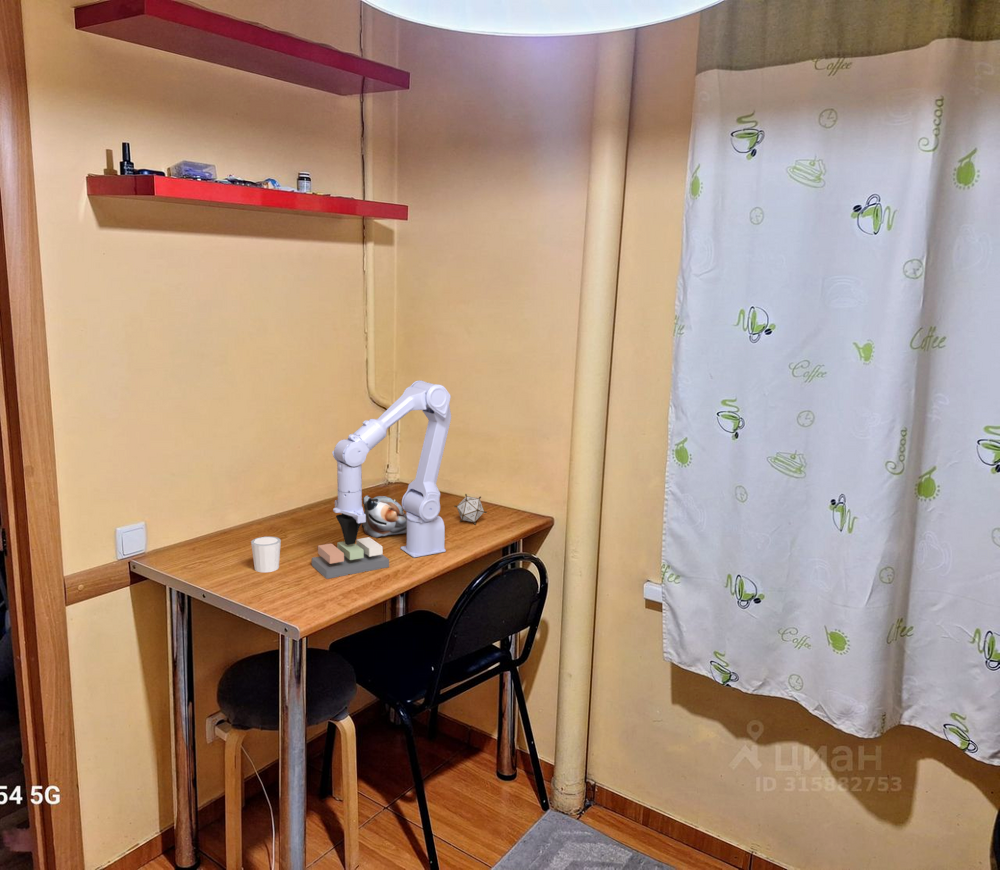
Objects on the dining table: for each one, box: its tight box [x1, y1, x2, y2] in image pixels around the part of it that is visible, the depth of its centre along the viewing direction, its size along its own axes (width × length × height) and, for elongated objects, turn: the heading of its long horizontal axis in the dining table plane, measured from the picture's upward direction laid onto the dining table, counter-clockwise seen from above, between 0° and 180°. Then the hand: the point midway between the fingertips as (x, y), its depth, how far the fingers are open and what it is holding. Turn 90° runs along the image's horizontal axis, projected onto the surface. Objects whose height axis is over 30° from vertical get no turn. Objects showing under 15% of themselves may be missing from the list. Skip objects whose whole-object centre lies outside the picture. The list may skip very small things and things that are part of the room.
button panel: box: [311, 553, 390, 580], centre depth 194 cm, size 16×10×2 cm, turn 123°
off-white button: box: [355, 536, 384, 557], centre depth 196 cm, size 4×8×2 cm, turn 33°
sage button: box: [336, 541, 364, 560], centre depth 193 cm, size 4×8×2 cm, turn 33°
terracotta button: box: [317, 543, 344, 564], centre depth 191 cm, size 4×8×2 cm, turn 33°
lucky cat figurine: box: [361, 495, 407, 539], centre depth 217 cm, size 15×12×14 cm
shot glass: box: [250, 536, 282, 573], centre depth 191 cm, size 7×7×7 cm
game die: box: [453, 493, 488, 526], centre depth 231 cm, size 9×8×10 cm
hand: (350, 543), depth 193 cm, fingers closed
